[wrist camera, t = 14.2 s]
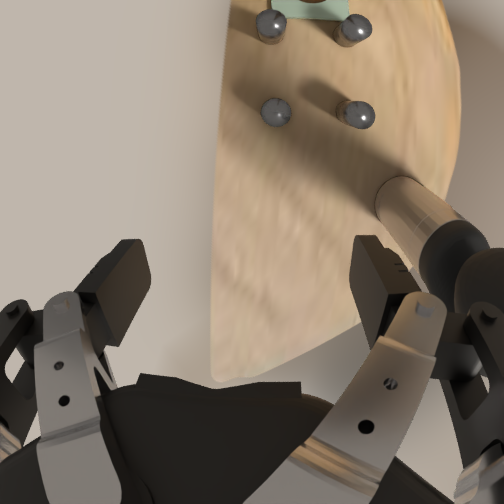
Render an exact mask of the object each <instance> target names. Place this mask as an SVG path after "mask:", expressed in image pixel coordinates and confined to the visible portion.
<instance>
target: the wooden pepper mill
mask: <svg viewBox="0 0 504 504" xmlns="http://www.w3.org/2000/svg"><path fill="white" fill-rule="evenodd" d="M299 1H302V2H305V3H321V2H324V1H326V0H299Z"/></svg>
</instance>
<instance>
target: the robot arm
mask: <svg viewBox="0 0 504 504" xmlns="http://www.w3.org/2000/svg"><path fill="white" fill-rule="evenodd" d="M375 210H376V214H377V216H378V218H379V220H380V221H381V222H382V224H383V225H384V226H385V228H386V229H387V231H388V232H389V233H390V235H391V236H392V237H393V239H394V240H395V241H396V243H397V244H398V245H399V247H400V248H401V250H402V251H403V252H404V254H405V255H406V257H407V258H408V259H409V261H410V262H411V264H412V265H413V266H414V268H415V269H416V271H417V272H418V274H419V275H420V277H421V278H422V280H423V281H424V283H425V284H426V286H427V288H428V290H429V293H426V292H422V291H421V289H420V288H419V286H418V284H417V283H416V281H415V279H414V278H413V276H412V275H411V273H410V272H408V269H407V267H406V266H405V265H404V263H403V261H402V260H401V258H400V257H399V255H398V254H396V253H395V252H393V251H392V250H391V249H389V248H384V247H383V245H382V244H381V242H380V241H379V239H378V238H377V236H376V235H356V236H355V238H354V243H353V251H352V259H351V266H350V274H349V282H350V288H351V291H352V294H353V297H354V300H355V303H356V306H357V309H358V312H359V315H360V318H361V321H362V324H363V327H364V331H365V334H366V337H367V340H368V344H369V347H370V350H371V351H370V353H369V355H368V356H367V358H366V359H365V361H364V362H363V364H362V365H361V367H360V369H359V370H358V372H357V373H356V375H355V376H354V378H353V379H352V381H351V382H350V384H349V385H348V387H347V388H346V389H345V391H344V392H343V394H342V395H341V396H340V398H339V399H338V401H337V402H336V403H335V405H334V404H332V403H330V402H328V401H326V400H323V399H321V398H318V397H315V396H311V395H308V394H302V393H301V382H257V383H251V384H246V385H240V386H234V387H228V388H222V389H211V388H208V387H204V386H201V385H198V384H194V383H191V382H188V381H185V380H182V379H179V378H176V377H167V376H159V375H150V374H143V373H140V375H139V378H138V381H137V383H136V384H133V385H128V386H123V387H120V388H118V387H117V384H116V382H115V379H114V376H113V373H112V370H111V367H110V364H109V361H108V357H107V355H106V353H105V351H104V348H105V346H106V345H109V346H116V347H119V345H120V343H121V342H122V340H123V338H124V336H125V333H126V332H127V330H128V328H129V326H130V324H131V322H132V320H133V318H134V316H135V314H136V312H137V311H138V309H139V307H140V305H141V303H142V301H143V300H144V298H145V296H146V294H147V292H148V290H149V288H150V285H151V274H150V269H149V266H148V261H147V257H146V253H145V249H144V245H143V242H142V241H141V240H140V239H124V240H121V241H120V242H119V243H118V244H117V246H115V248H114V249H113V250H112V251H111V252H110V253H109V254H107V255H106V256H104V257H103V258H101V259H100V260H99V262H98V263H97V264H96V265H95V267H94V268H93V269H92V270H91V271H90V273H89V274H88V275H87V276H86V277H85V278H84V279H83V280H82V282H81V283H80V284H79V285H78V287H77V288H76V289H75V290H74V291H73V292H72V291H67V292H63V293H59V294H57V295H55V296H54V297H52V298H51V299H50V300H49V301H48V302H47V303H46V304H45V306H44V309H43V310H37V311H32V310H31V309H30V307H29V305H28V303H27V301H26V300H22V299H20V300H16V301H13V302H11V303H10V304H8V305H7V306H6V307H5V308H4V309H3V310H2V311H1V312H0V504H504V248H491V249H490V247H489V244H488V242H487V240H486V238H485V237H484V235H483V234H482V233H481V232H480V231H479V230H478V229H477V228H476V227H475V226H473V225H472V224H471V223H470V222H469V221H467V220H466V219H465V218H464V217H462V216H461V215H460V214H459V213H457V212H456V211H455V210H454V209H453V208H452V207H451V206H450V205H449V204H447V203H446V202H445V201H443V200H442V199H441V198H439V197H438V196H437V195H435V194H434V193H433V192H431V191H430V190H429V189H427V188H426V187H423V186H422V185H420V184H419V183H417V182H416V181H414V180H413V179H411V178H409V177H404V176H399V177H395V178H392V179H390V180H388V181H387V182H386V183H385V184H384V185H383V186H382V187H381V188H380V190H379V191H378V194H377V196H376V200H375ZM15 348H17V350H18V351H19V353H20V354H21V356H22V357H23V359H24V360H25V362H24V363H23V365H22V367H21V368H20V370H19V372H18V374H17V376H16V377H15V379H14V381H13V383H11V382H10V380H9V379H8V378H7V376H6V374H5V364H6V362H7V360H8V359H9V357H10V355H11V354H12V352H13V351H14V349H15ZM481 375H482V376H485V377H488V380H489V385H490V388H489V393H488V392H487V390H486V387H485V385H484V382H483V380H482V378H481ZM430 378H433V379H439V380H440V383H441V386H442V389H443V392H444V395H445V398H446V402H447V405H448V408H449V412H450V415H451V418H452V422H453V426H454V430H455V433H456V438H457V442H458V446H459V450H460V454H461V459H462V464H463V469H464V470H463V471H462V472H461V474H460V475H459V477H458V480H457V485H456V489H455V491H454V499H455V502H453V501H451V500H450V499H449V498H448V497H446V496H445V495H444V494H442V493H441V492H439V491H438V490H437V489H436V488H435V487H433V486H432V485H431V484H429V483H428V482H427V481H426V480H424V479H423V478H422V477H421V476H419V475H418V474H417V473H416V472H414V471H413V470H412V469H411V468H409V467H408V466H407V465H406V464H404V463H403V462H402V461H401V460H400V459H398V458H397V457H396V456H395V454H396V452H397V451H398V449H399V447H400V445H401V443H402V441H403V439H404V437H405V435H406V433H407V431H408V429H409V426H410V424H411V422H412V420H413V418H414V415H415V413H416V411H417V409H418V406H419V404H420V402H421V399H422V397H423V394H424V392H425V389H426V387H427V384H428V381H429V379H430ZM37 411H38V416H39V423H40V430H41V436H40V437H38V438H36V439H35V440H33V441H32V442H30V443H29V444H27V445H25V446H24V447H23V445H24V442H25V439H26V437H27V434H28V432H29V430H30V427H31V425H32V422H33V420H34V418H35V416H36V413H37Z"/></svg>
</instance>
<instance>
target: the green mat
mask: <svg viewBox="0 0 504 504" xmlns="http://www.w3.org/2000/svg"><path fill="white" fill-rule="evenodd" d="M271 6H272V9H274V10H278V11H280V12H281V13H283V14H284V16H285V17H286V19H316V20H330V21H340V22H343V21H344V20H345V19H346V18H347V17H348V16H349V5H348V0H326V1H324V2H321V3H305V2H302V1H299V0H271Z"/></svg>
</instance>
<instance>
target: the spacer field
mask: <svg viewBox="0 0 504 504" xmlns="http://www.w3.org/2000/svg"><path fill="white" fill-rule="evenodd" d="M286 23H287V21H286V17H285V16H284V14H283V13H281V12H280V11H278V10H274V9H268V10H264V11H262V12H261V13H259V15H258V16H257V18H256V25H257V30H258V35H259V38H260V39H261V41H263V42H264V43H266V44H277V43H279V42H280V41H281V40H282V39H283V37H284V33H285V28H286ZM371 33H372V25H371V23H370V22H369V20H368V19H367V18H365V17H364V16H362V15H359V14H352V15H349V16H348V17H347V18H346V19H345V20H344V21H343V22H342V23H341V24H340V25H339V26H338V27H337V28H336V29H335V30H334V32H333V37H334V40H335V41H336V43H337V44H339V45H340V46H342V47H352V46H354V45H356V44H357V43H359V42H361V41H362V40H364V39H366V38H368V37H369V36H370V35H371ZM336 115H337V117H338V119H339V120H340V121H341V122H342V123H345V124H347V125H350V126H353V127H355V128H358V129H367V128H369V127H370V126H372V124H373V123H374V121H375V112H374V110H373V108H372V107H371V106H370V105H369V104H368V103H366V102H362V101H343V102H341V103H340V104H339V105H338V106H337V108H336ZM261 116H262V119H263V120H264V122H265V123H266V124H268V125H270V126H273V127H280V126H283V125H285V124H286V123H287V122H288V121H289V119H290V117H291V109H290V106H289V105H288V104H287V103H286V102H285V101H284V100H282V99H278V98H273V99H270V100H268V101H266V102H265V103H264V104H263V106H262V109H261Z"/></svg>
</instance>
